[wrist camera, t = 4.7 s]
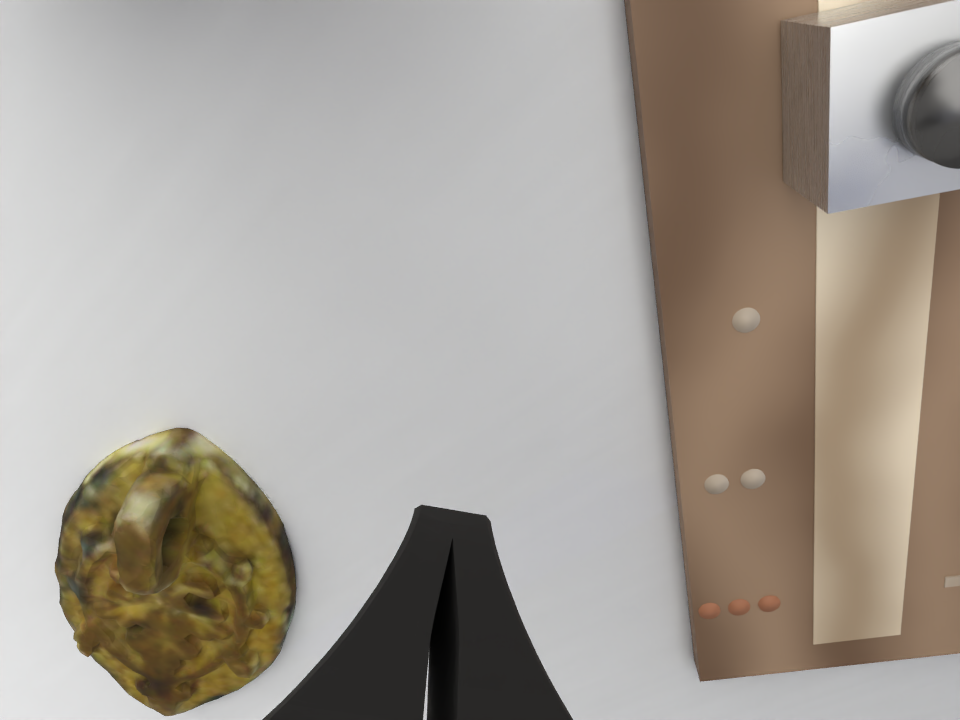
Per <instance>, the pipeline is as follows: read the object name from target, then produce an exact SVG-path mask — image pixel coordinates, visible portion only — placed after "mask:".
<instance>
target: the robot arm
mask: <svg viewBox="0 0 960 720" xmlns="http://www.w3.org/2000/svg"><path fill="white" fill-rule="evenodd" d="M428 657H429V674H428V703H427V720H573V719H572V717H571V715H570V714H569V712H568V710H567V709H566V707H565V705H564V704H563V702H562V700H561V698H560V697H559V695H558V693H557V691H556V690H555V688H554V686H553V684H552V682H551V680H550V679H549V677H548V675H547V673H546V671H545V669H544V667H543V665H542V663H541V661H540V659H539V657H538V655H537V653H536V651H535V649H534V647H533V645H532V642H531V640H530V638H529V636H528V634H527V631H526V629H525V627H524V625H523V622H522V620H521V617H520V615H519V613H518V610H517V607H516V605H515V602H514V600H513V597H512V594H511V592H510V589H509V586H508V584H507V581H506V578H505V575H504V572H503V569H502V566H501V562H500V559H499V556H498V552H497V549H496V545H495V541H494V537H493V532H492V527H491V521H490V520H489V519H488V518H487V516H485V515H479V514H473V513H467V512H461V511H455V510H450V509H444V508H438V507H432V506H426V505H421V506H419V507H417V508H415V510H414V514H413V518H412V521H411V523H410V526H409V529H408V531H407V533H406V535H405V538H404V540H403V542H402V544H401V546H400V547H399V549H398V551H397V553H396V555H395V557H394V559H393V560H392V562H391V564H390V565H389V567H388V569H387V570H386V572H385V574H384V575H383V577H382V579H381V580H380V582H379V584H378V585H377V587H376V588H375V590H374V591H373V593H372V594H371V596H370V597H369V598H368V600H367V601H366V603H365V604H364V606H363V607H362V608H361V610H360V611H359V613H358V614H357V616H356V617H355V618H354V620H353V621H352V622H351V624H350V625H349V626H348V628H347V629H346V630H345V631H344V633H343V634H342V635H341V636H340V638H339V639H338V640H337V641H336V643H335V644H334V645H333V646H332V647H331V649H330V650H329V651H328V652H327V653H326V655H325V656H324V657H323V658H322V659H321V660H320V662H319V663H318V664H317V665H316V666H315V667H314V668H313V669H312V670H311V671H310V673H309V674H308V675H307V676H306V677H305V678H304V679H303V680H302V681H301V682H300V683H299V685H298V686H297V687H296V688H295V689H294V690H293V691H292V692H291V693H290V694H289V695H288V696H287V697H286V698H285V699H284V700H283V701H282V702H281V703H280V704H279V705H278V706H277V707H276V708H274V709H273V710H272V711H271V712H270V713H269V714H268V715H267V716H266V717H265V718H264V719H263V720H423V712H424V701H425V689H426V678H427V667H428Z"/></svg>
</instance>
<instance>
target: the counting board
mask: <svg viewBox="0 0 960 720" xmlns="http://www.w3.org/2000/svg"><path fill="white" fill-rule="evenodd" d="M866 1H870V0H624V2H625V12H626V21H627V30H628V40H629V49H630V59H631V68H632V78H633V87H634V96H635V106H636V115H637V125H638V134H639V143H640V153H641V162H642V172H643V181H644V190H645V200H646V209H647V219H648V228H649V237H650V247H651V256H652V266H653V275H654V285H655V294H656V303H657V313H658V322H659V332H660V341H661V350H662V360H663V369H664V379H665V388H666V397H667V407H668V416H669V426H670V435H671V444H672V454H673V463H674V473H675V482H676V492H677V501H678V510H679V520H680V529H681V539H682V548H683V557H684V567H685V576H686V586H687V595H688V604H689V614H690V623H691V633H692V642H693V651H694V661H695V664H696V668H697V672H698V675H699V679H700V682H701V681H710V680H719V679H728V678H737V677H746V676H756V675H765V674H774V673H783V672H792V671H801V670H810V669H820V668H829V667H838V666H847V665H856V664H865V663H875V662H884V661H893V660H902V659H911V658H920V657H929V656H939V655H948V654H957V653H960V189H958V190H953V191H947V192H942V193H937V194H931V195H926V196H921V197H915V198H910V199H905V200H900V201H894V202H889V203H884V204H878V205H873V206H868V207H862V208H857V209H852V210H846V211H841V212H836V213H831V214H827V213H826V212H824V211H823V210H822V209H820V208H819V207H818V206H816V205H815V204H813V203H812V202H811V201H809V200H808V199H806V198H805V197H804V196H802V195H801V194H800V193H798V192H797V191H795V190H794V189H793V188H791V187H790V186H788V185H787V184H786V183H784V182H783V133H782V63H781V20H786V19H790V18H795V17H799V16H803V15H808V14H812V13H817V12H821V11H826V10H830V9H835V8H839V7H844V6H848V5H853V4H857V3H862V2H866Z"/></svg>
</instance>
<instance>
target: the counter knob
mask: <svg viewBox="0 0 960 720" xmlns="http://www.w3.org/2000/svg"><path fill="white" fill-rule="evenodd" d="M781 63H782V133H783V182H784V183H786V184H787V185H788V186H790V187H791V188H793V189H794V190H795V191H797V192H798V193H800V194H801V195H802V196H804V197H805V198H806V199H808V200H809V201H811V202H812V203H813V204H815V205H816V206H818V207H819V208H820V209H822V210H823V211H824V212H826V213H827V214H831V213H836V212H841V211H846V210H852V209H857V208H862V207H868V206H873V205H878V204H884V203H889V202H894V201H900V200H905V199H910V198H915V197H921V196H926V195H931V194H937V193H942V192H947V191H953V190H958V189H960V0H870V1H866V2H862V3H857V4H853V5H848V6H844V7H839V8H835V9H830V10H826V11H821V12H817V13H812V14H808V15H803V16H799V17H795V18H790V19H786V20H781Z"/></svg>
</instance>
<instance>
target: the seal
mask: <svg viewBox="0 0 960 720" xmlns="http://www.w3.org/2000/svg"><path fill="white" fill-rule="evenodd" d="M55 573H56V576H57V579H58V582H59V585H60V605H61V607H62V609H63V612H64V615H65V617H66V619H67V621H68V622H69V624H70V625H71V627H72V629H73V630H74V638H73V639H74V640H75V641H76V642H77V648H78V649H79V651H80V652H81V653H82V654H84V655H85V656H87V657H89V656H90V655H91V656H92V657H93V659H94V660H95V661H96V662H97V663H98V664H100V665H101V666H102V667H103V668H104V669H105V670H107V671H108V672H109V673H110V675H111V676H112V677H113V678H114V679H115V680H116V681H117V682H118V683H119V684H120V686H121V687H122V688H123V689H124V690H125V691H126V692H127V693H128V694H129V695H130V696H132V697H133V698H135V699H136V700H138V701H139V702H141V703H143V704H144V705H146V706H147V707H149V708H152V709H154V710H156V711H157V712H159V713H161V714H162V715H164V716H172V715H176V714H180V713H183V712H186V711H188V710H191V709H193V708H195V707H198V706H200V705H202V704H204V703H207V702H210V701H213V700H216V699H218V698H220V697H222V696H224V695H227V694H229V693H231V692H234V691H236V690H239V689H240V688H242V687H243V686H244V685H246V684H247V683H249V682H251V681H252V680H254V679H255V678H256V677H258V676H259V675H260V674H261V673H262V672H263V671H265V670H266V669H267V668H268V667H269V666H270V665H271V664H272V663H273V662H274V660H275V659H276V657H277V656H278V654H279V653H280V651H281V648H282V645H283V642H284V640H285V636H286V633H287V630H288V628H289V625H290V622H291V619H292V616H293V612H294V608H295V602H296V601H295V596H296V581H295V568H294V563H293V557H292V552H291V549H290V546H289V543H288V539H287V537H286V534H285V530H284V525H283V523H282V521H281V519H280V517H279V516H278V514H277V512H276V510H275V509H274V508H273V506H272V504H271V503H270V501H269V500H268V498H267V497H266V496H265V494H264V493H263V492H262V491H261V490H260V489H259V487H258V486H257V485H256V483H255V482H254V481H253V480H252V479H251V478H250V477H249V476H248V475H247V474H246V473H245V472H244V470H243V469H242V468H241V467H240V466H239V465H238V464H237V463H236V462H235V461H233V460H232V459H231V458H230V457H229V456H228V455H227V454H226V453H224V452H223V451H222V450H221V449H219V448H218V447H217V446H216V445H214V444H213V443H212V442H210V441H209V440H208V439H206V438H205V437H204V436H202V435H201V434H199V433H197V432H195V431H193V430H191V429H188V428H174V429H170V430H166V431H163V432H159V433H156V434H153V435H150V436H147V437H146V438H144V439H141V440H137V441H135V442H132V443H130V444H128V445H126V446H124V447H122V448H120V449H118V450H117V451H115V452H113V453H112V454H110V455H109V456H107V457H106V458H105V459H104V460H103V461H101V462H100V463H99V464H98V465H97V466H96V467H95V468H94V469H93V470H92V471H91V472H90V473H89V474H88V475H87V476H86V477H85V479H84V480H83V482H82V484H81V485H80V487H79V489H78V490H76V491H75V493H74V494H73V496H72V497H71V499H70V500H69V502H68V504H67V506H66V507H65V510H64V513H63V518H62V526H61V533H60V538H59V547H58V556H57V559H56V562H55Z"/></svg>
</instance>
